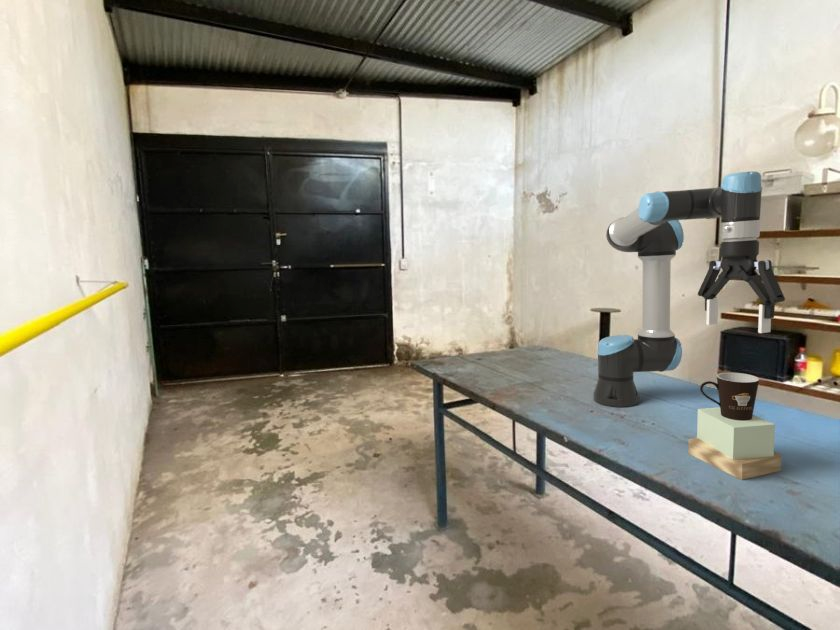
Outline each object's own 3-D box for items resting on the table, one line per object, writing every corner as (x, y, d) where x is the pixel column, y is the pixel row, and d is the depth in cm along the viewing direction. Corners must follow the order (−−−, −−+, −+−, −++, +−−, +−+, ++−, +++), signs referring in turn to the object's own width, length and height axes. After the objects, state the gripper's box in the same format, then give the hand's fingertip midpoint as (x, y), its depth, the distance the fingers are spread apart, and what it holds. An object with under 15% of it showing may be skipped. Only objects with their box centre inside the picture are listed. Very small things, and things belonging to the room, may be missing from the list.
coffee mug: (759, 414, 113) (761, 375, 111) (755, 425, 107) (756, 384, 105) (705, 405, 121) (706, 369, 119) (698, 415, 114) (699, 377, 113)
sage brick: (697, 437, 120) (697, 408, 119) (733, 434, 120) (734, 406, 119) (732, 459, 107) (733, 427, 106) (773, 456, 107) (774, 424, 106)
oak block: (688, 453, 120) (688, 439, 119) (724, 446, 123) (724, 432, 122) (741, 479, 105) (742, 463, 105) (780, 470, 108) (781, 455, 108)
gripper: (683, 242, 117) (681, 322, 120) (781, 238, 93) (777, 338, 96) (706, 241, 119) (704, 320, 122) (808, 236, 95) (803, 334, 98)
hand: (736, 328), depth 109 cm, fingers open, 13 cm apart
